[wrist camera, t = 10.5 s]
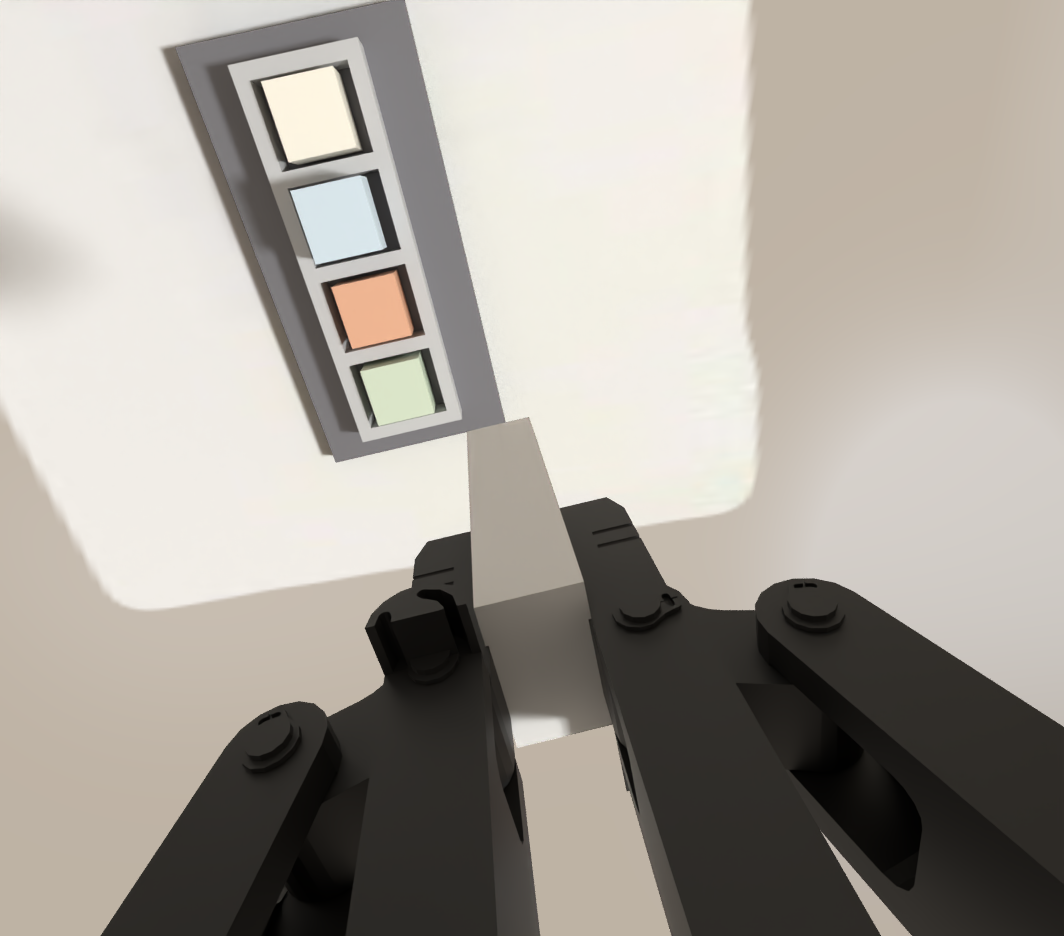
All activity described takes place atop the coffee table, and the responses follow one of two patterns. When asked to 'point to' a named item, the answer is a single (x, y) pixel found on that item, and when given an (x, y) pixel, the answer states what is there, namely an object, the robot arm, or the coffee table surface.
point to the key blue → (339, 219)
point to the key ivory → (312, 115)
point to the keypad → (401, 203)
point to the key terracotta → (373, 309)
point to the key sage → (398, 387)
